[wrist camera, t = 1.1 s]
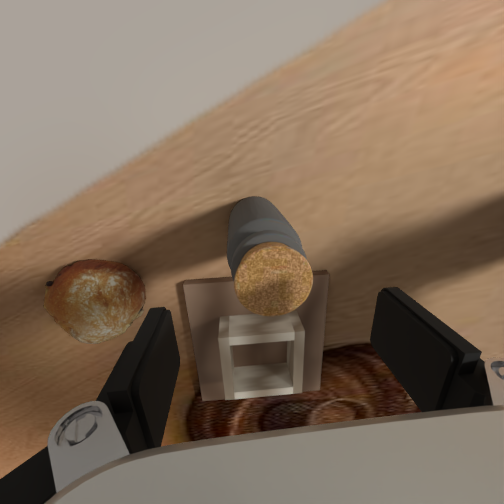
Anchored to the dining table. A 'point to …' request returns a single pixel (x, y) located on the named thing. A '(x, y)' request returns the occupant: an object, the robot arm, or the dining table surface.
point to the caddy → (255, 342)
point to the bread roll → (95, 299)
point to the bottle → (266, 259)
